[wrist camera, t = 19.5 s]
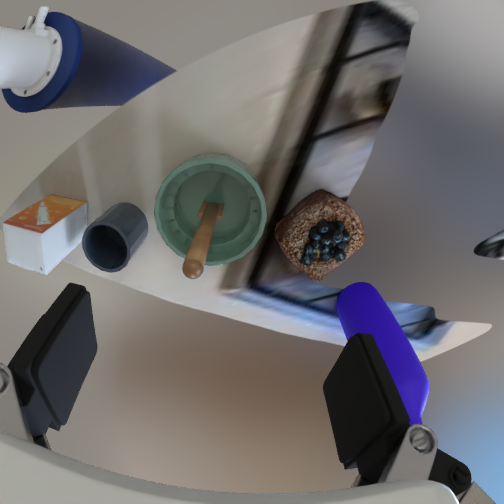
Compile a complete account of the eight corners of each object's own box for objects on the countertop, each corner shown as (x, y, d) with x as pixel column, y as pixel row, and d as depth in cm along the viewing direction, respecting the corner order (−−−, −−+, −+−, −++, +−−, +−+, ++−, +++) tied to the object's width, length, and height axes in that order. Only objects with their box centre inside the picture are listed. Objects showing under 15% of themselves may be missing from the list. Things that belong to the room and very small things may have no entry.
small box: (88, 200, 41) (42, 233, 29) (87, 236, 43) (47, 277, 32) (50, 193, 40) (1, 222, 28) (50, 228, 42) (7, 263, 31)
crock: (105, 199, 41) (81, 217, 34) (149, 206, 42) (131, 226, 34) (105, 242, 44) (83, 266, 37) (146, 250, 45) (130, 277, 38)
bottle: (330, 288, 48) (391, 449, 22) (375, 273, 47) (462, 417, 21) (337, 323, 52) (387, 471, 25) (378, 309, 51) (446, 445, 24)
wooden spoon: (204, 196, 41) (174, 260, 24) (225, 200, 41) (210, 267, 24) (202, 208, 41) (172, 279, 24) (223, 212, 42) (207, 285, 25)
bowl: (172, 145, 38) (161, 150, 33) (274, 164, 39) (278, 171, 34) (160, 238, 44) (150, 254, 39) (252, 255, 45) (252, 273, 40)
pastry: (264, 232, 44) (267, 250, 39) (325, 177, 40) (337, 187, 35) (311, 277, 47) (319, 298, 42) (368, 229, 44) (383, 245, 39)
